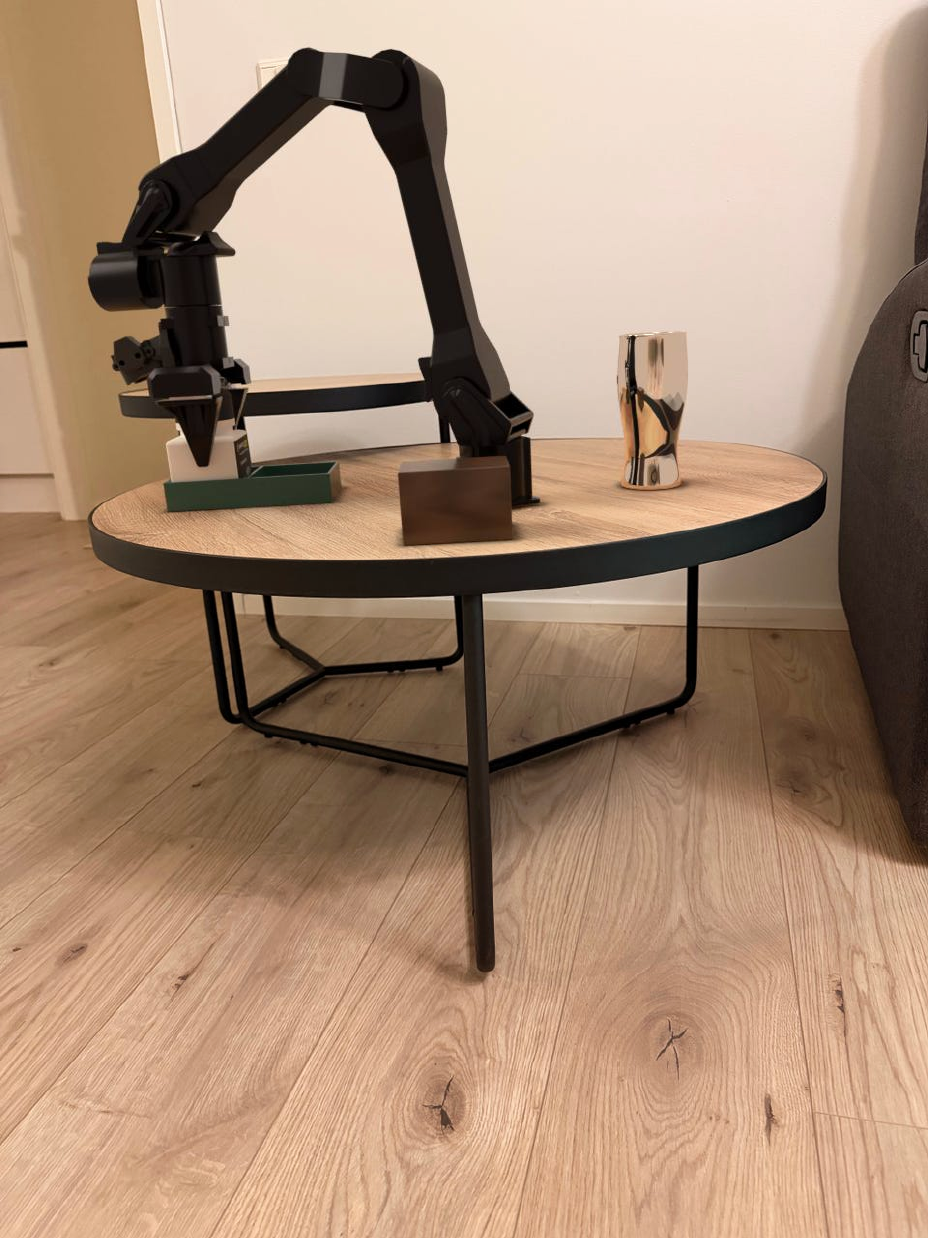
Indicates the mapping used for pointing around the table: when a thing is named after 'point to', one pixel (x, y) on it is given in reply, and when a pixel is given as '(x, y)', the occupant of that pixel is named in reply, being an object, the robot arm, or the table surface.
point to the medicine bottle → (213, 450)
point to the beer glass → (652, 406)
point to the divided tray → (259, 488)
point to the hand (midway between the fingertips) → (214, 460)
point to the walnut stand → (455, 500)
